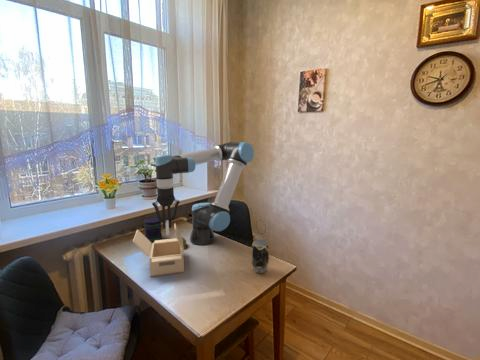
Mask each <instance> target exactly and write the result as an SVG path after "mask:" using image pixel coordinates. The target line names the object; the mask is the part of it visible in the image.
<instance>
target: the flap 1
mask: <svg viewBox="0 0 480 360" xmlns="http://www.w3.org/2000/svg"><path fill="white" fill-rule="evenodd" d="M132 243H133V244H134V245H135V246H137V248H138V249H140V251H142V252H143V254H145V255H146V256H147V257H150V253H151V247H152V244H151V242H150V241H149V240H148V239H147V238H146V237H145V234H143V233H142V232H141V231H140V230H139V229H136V232H135V234H134V236H133V239H132Z"/></svg>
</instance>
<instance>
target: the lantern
mask: <svg viewBox="0 0 480 360" xmlns="http://www.w3.org/2000/svg"><path fill="white" fill-rule="evenodd" d="M260 221H261V222H262V223H263V224H264V227H265V228H264V232H260V231H259V230H258V226H257V224H258V221H256V222H255V226H256V227H255V228H256V230H257V232H258V233H259V234H257V235H256V236H254V239H255V240H253V242H252V244H251V247H252V256H251V257H252V259H251V266H252V267H253V271H255V272H256V273H260V274H261V273H265V272H267V270H268V266H269V265H268V264H269V262H270V255H269V254H270V251H269V246H268V245H269V243H268V242H267V237H266V236H265V235H264V233H265V232H266V230H267V229H266V227H267V226H266V224H265V221H264V220H262V219H260Z"/></svg>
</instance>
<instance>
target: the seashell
mask: <svg viewBox="0 0 480 360" xmlns="http://www.w3.org/2000/svg"><path fill="white" fill-rule="evenodd" d="M181 237H182V236H181ZM182 239H183V247H184V250H186V249H187V248H188V246H187V240H186V238H185V237H182Z"/></svg>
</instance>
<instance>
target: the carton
mask: <svg viewBox="0 0 480 360" xmlns="http://www.w3.org/2000/svg"><path fill="white" fill-rule="evenodd" d="M184 261H185V259H184V252H183V251H182V249H181V247H180V244H179V242H178V240H177V238H176V237H173V238H167V239H166V238H165V239H162V240H155V242H154V243H152V244H151V248H150V254H149V270H150V272H149V273H150V278H153V277H160V276H161V277H162V276H167V275H174V274H181V273H184V272H185V265H184V264H185V263H184Z"/></svg>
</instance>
